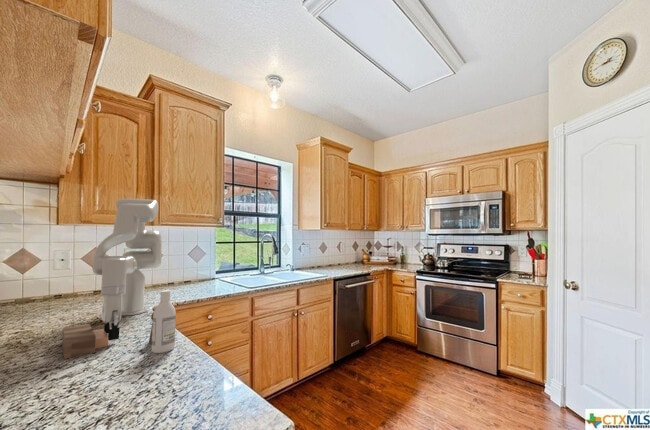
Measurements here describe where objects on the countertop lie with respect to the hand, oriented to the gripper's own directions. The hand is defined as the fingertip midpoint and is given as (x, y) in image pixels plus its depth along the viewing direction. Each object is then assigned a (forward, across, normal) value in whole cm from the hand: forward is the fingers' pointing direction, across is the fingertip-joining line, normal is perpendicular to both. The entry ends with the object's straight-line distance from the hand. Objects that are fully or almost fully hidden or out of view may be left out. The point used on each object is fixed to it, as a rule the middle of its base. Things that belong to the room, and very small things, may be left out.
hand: (111, 336), depth 105 cm
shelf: (+2, 0, -10) cm, 10 cm away
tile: (+2, 0, -7) cm, 7 cm away
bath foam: (+2, +24, +11) cm, 26 cm away
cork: (+2, +14, +12) cm, 19 cm away
